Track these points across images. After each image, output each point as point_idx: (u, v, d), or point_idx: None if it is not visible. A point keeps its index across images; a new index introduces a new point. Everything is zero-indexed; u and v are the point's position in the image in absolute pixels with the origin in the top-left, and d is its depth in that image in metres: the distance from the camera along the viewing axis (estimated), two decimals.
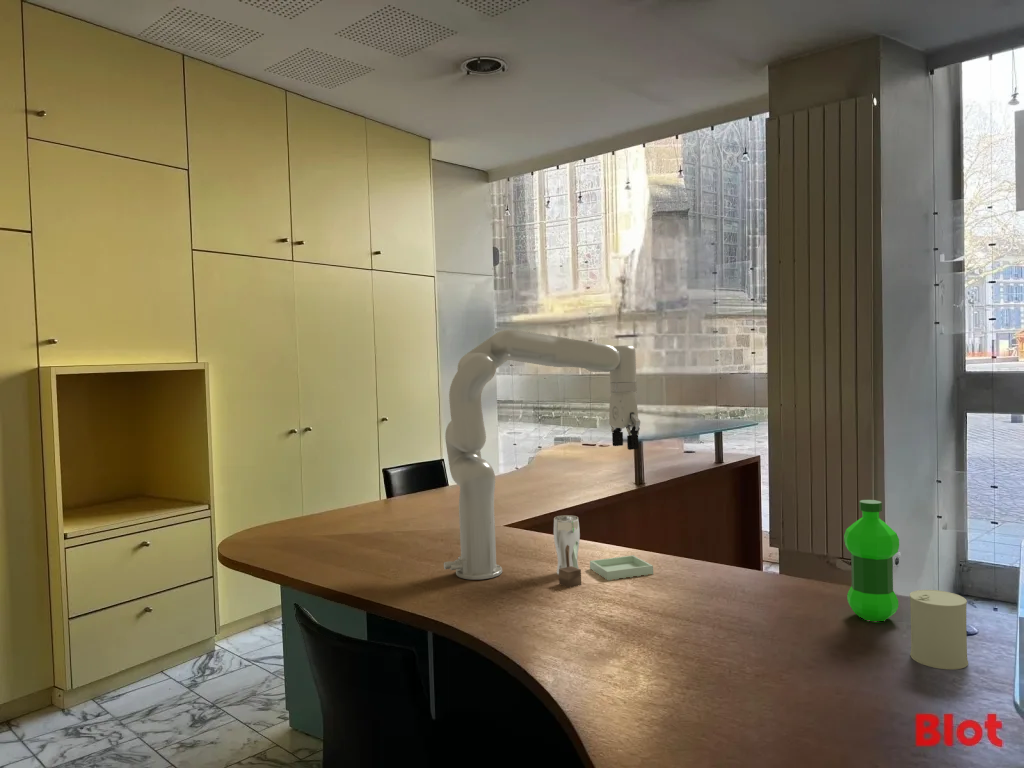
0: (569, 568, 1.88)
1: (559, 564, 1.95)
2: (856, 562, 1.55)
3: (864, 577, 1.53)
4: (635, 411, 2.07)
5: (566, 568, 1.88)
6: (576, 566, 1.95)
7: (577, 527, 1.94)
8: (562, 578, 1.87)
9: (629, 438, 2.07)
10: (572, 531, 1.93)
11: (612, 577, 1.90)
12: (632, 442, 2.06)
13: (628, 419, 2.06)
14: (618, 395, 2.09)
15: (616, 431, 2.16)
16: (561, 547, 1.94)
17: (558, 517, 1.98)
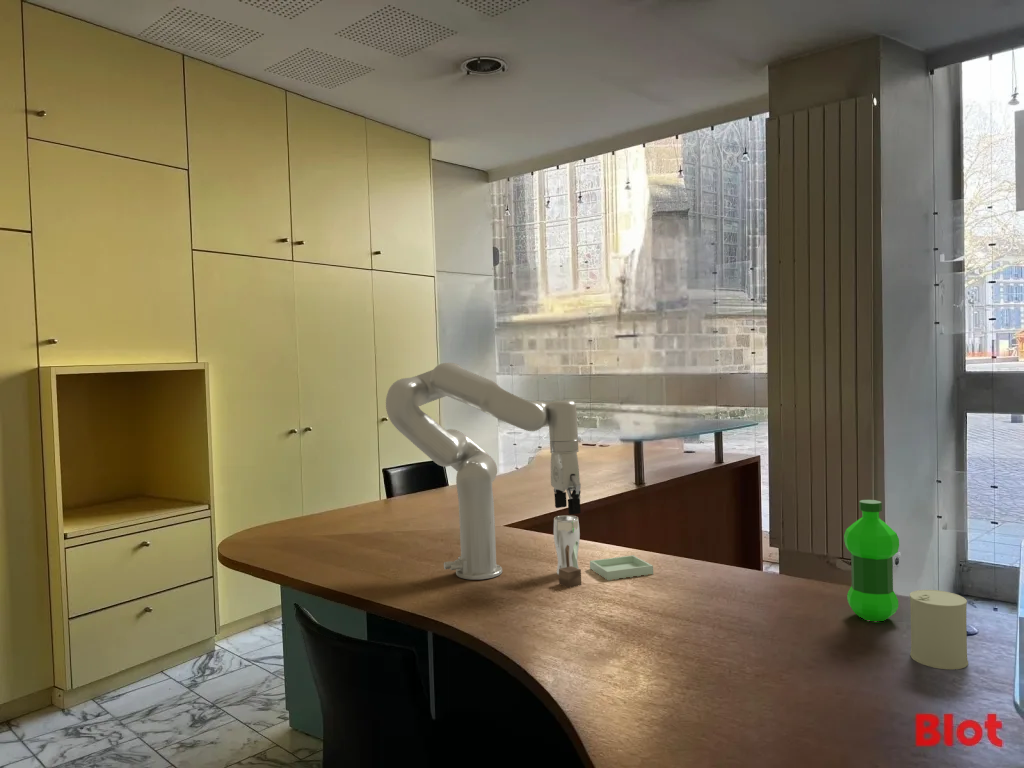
0: (569, 568, 1.88)
1: (559, 564, 1.95)
2: (856, 562, 1.55)
3: (864, 577, 1.53)
4: (576, 472, 1.91)
5: (566, 568, 1.88)
6: (576, 566, 1.95)
7: (577, 527, 1.94)
8: (562, 578, 1.87)
9: (570, 502, 1.91)
10: (572, 531, 1.93)
11: (612, 577, 1.90)
12: (573, 506, 1.90)
13: (568, 481, 1.91)
14: (558, 455, 1.93)
15: (559, 492, 2.00)
16: (561, 547, 1.94)
17: (558, 517, 1.98)
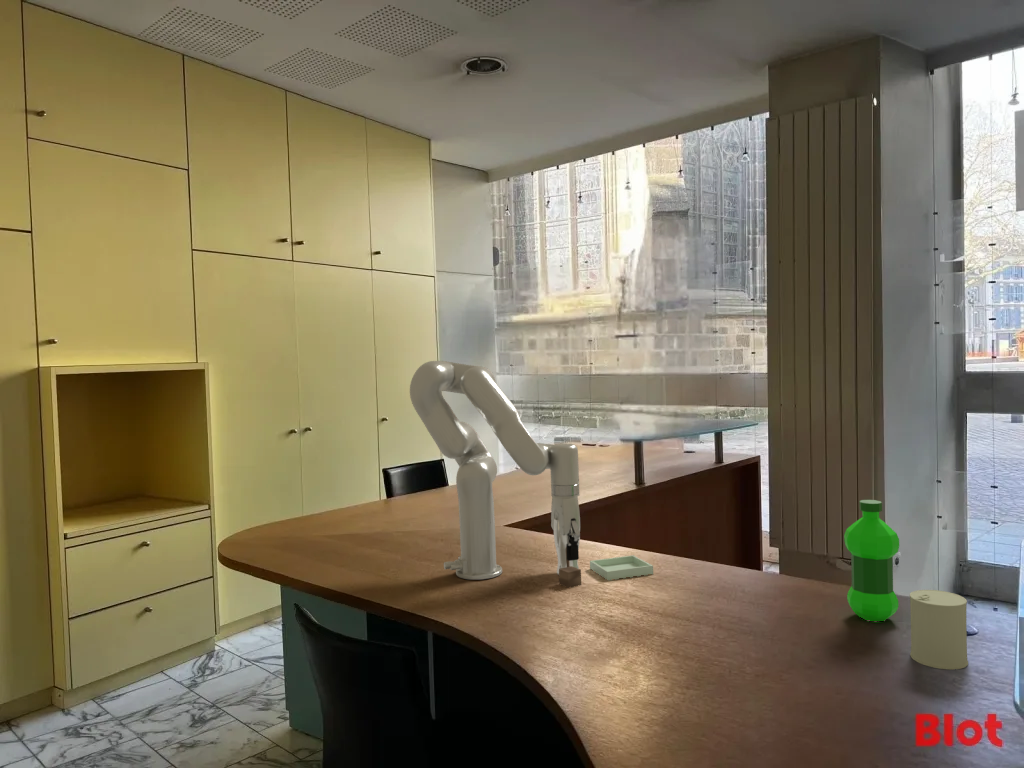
0: (569, 568, 1.88)
1: (559, 564, 1.95)
2: (856, 562, 1.55)
3: (864, 577, 1.53)
4: (577, 517, 1.92)
5: (566, 568, 1.88)
6: (576, 566, 1.95)
7: None
8: (562, 578, 1.87)
9: (568, 548, 1.92)
10: (572, 531, 1.93)
11: (612, 577, 1.90)
12: (571, 553, 1.92)
13: (569, 526, 1.91)
14: (559, 499, 1.93)
15: None
16: (561, 548, 1.94)
17: None
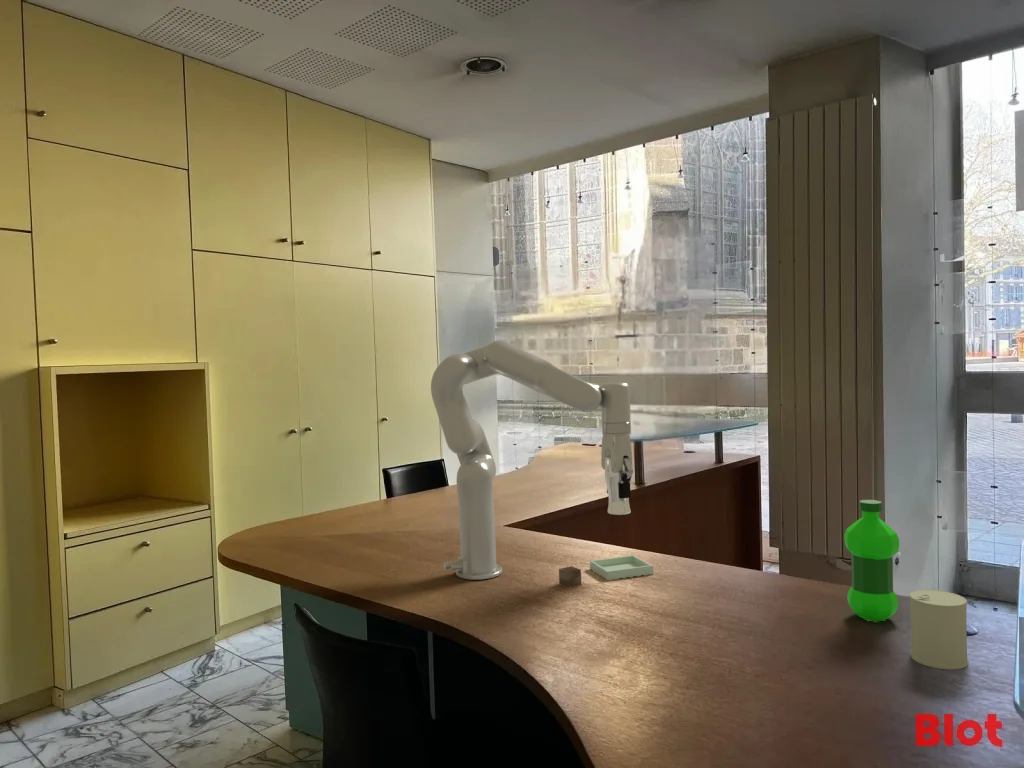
0: (569, 568, 1.88)
1: (610, 502, 1.95)
2: (856, 562, 1.55)
3: (864, 577, 1.53)
4: (629, 454, 1.91)
5: (566, 568, 1.88)
6: (628, 504, 1.94)
7: None
8: (562, 578, 1.87)
9: (620, 486, 1.92)
10: (624, 469, 1.92)
11: (612, 577, 1.90)
12: (624, 490, 1.91)
13: (621, 463, 1.90)
14: (611, 437, 1.93)
15: None
16: (613, 486, 1.93)
17: None
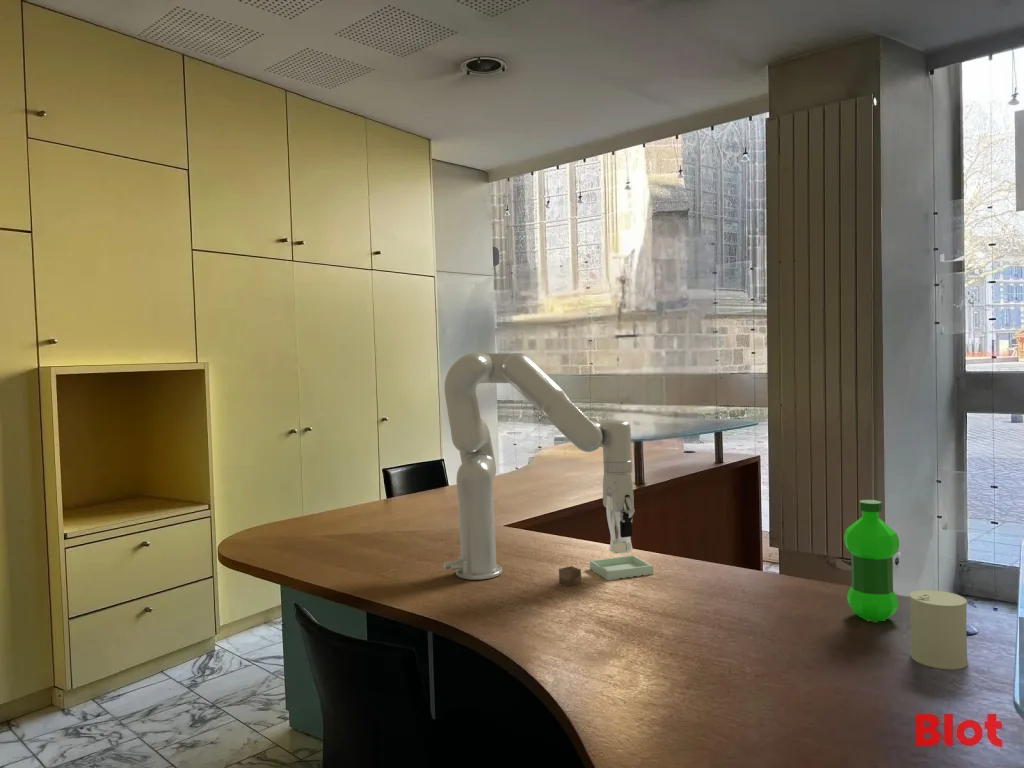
0: (569, 568, 1.88)
1: (612, 541, 1.95)
2: (856, 562, 1.55)
3: (864, 577, 1.53)
4: (631, 494, 1.91)
5: (566, 568, 1.88)
6: (629, 543, 1.95)
7: None
8: (562, 578, 1.87)
9: (622, 525, 1.92)
10: (626, 508, 1.93)
11: (612, 577, 1.90)
12: (625, 529, 1.92)
13: (623, 502, 1.91)
14: (612, 475, 1.93)
15: None
16: (614, 524, 1.93)
17: None
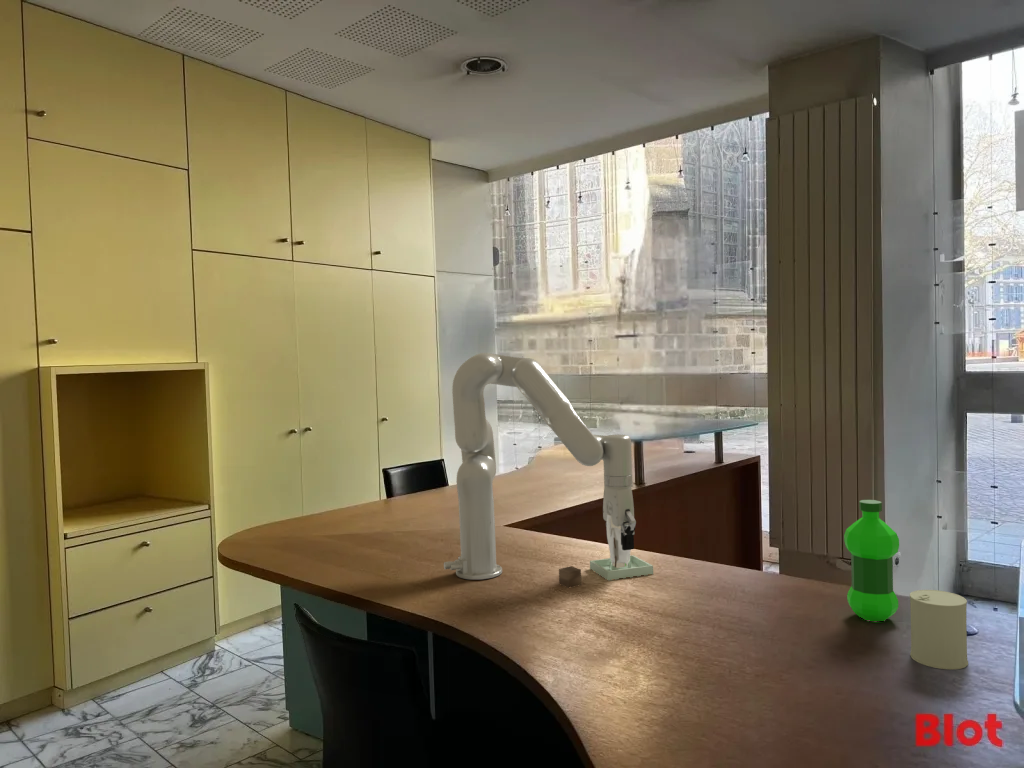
0: (569, 568, 1.88)
1: (612, 560, 1.95)
2: (856, 562, 1.55)
3: (864, 577, 1.53)
4: (631, 508, 1.92)
5: (566, 568, 1.88)
6: (629, 562, 1.95)
7: None
8: (562, 578, 1.87)
9: (624, 538, 1.91)
10: (626, 527, 1.93)
11: (612, 577, 1.90)
12: (627, 542, 1.91)
13: (623, 517, 1.91)
14: (612, 490, 1.93)
15: None
16: (614, 543, 1.94)
17: None
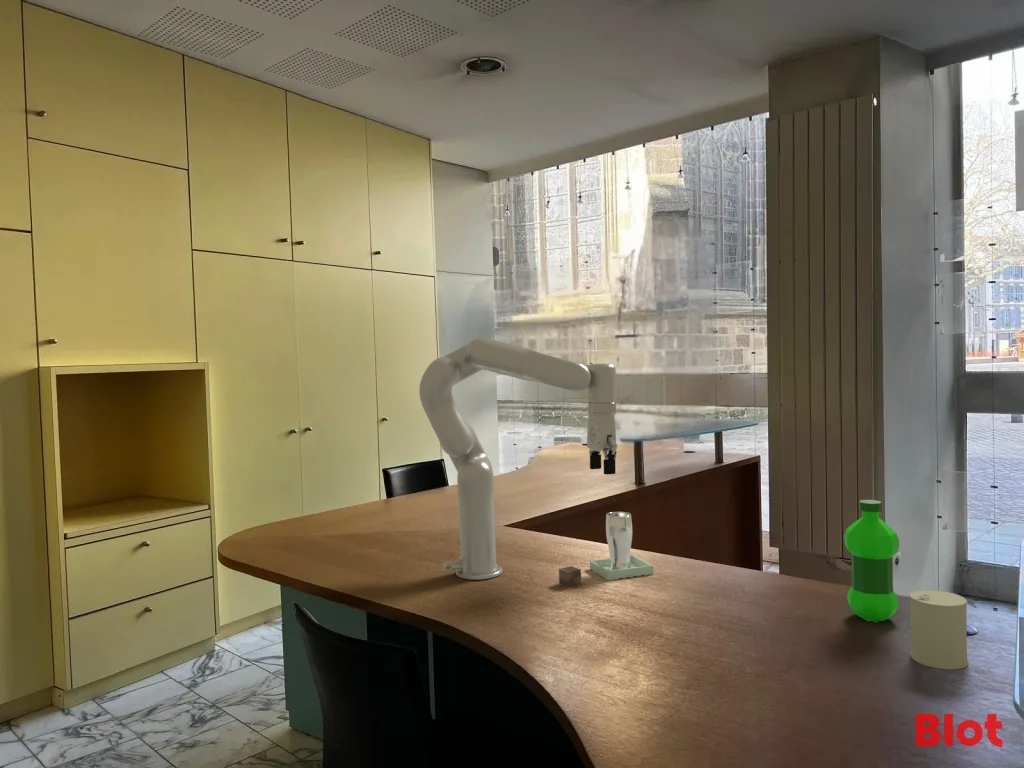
0: (569, 568, 1.88)
1: (612, 560, 1.95)
2: (856, 562, 1.55)
3: (864, 577, 1.53)
4: (613, 434, 1.95)
5: (566, 568, 1.88)
6: (629, 562, 1.95)
7: (630, 523, 1.94)
8: (562, 578, 1.87)
9: (605, 462, 1.95)
10: (625, 527, 1.93)
11: (612, 577, 1.90)
12: (608, 467, 1.94)
13: (605, 442, 1.95)
14: (596, 416, 1.97)
15: (594, 453, 2.04)
16: (614, 544, 1.94)
17: (610, 513, 1.98)
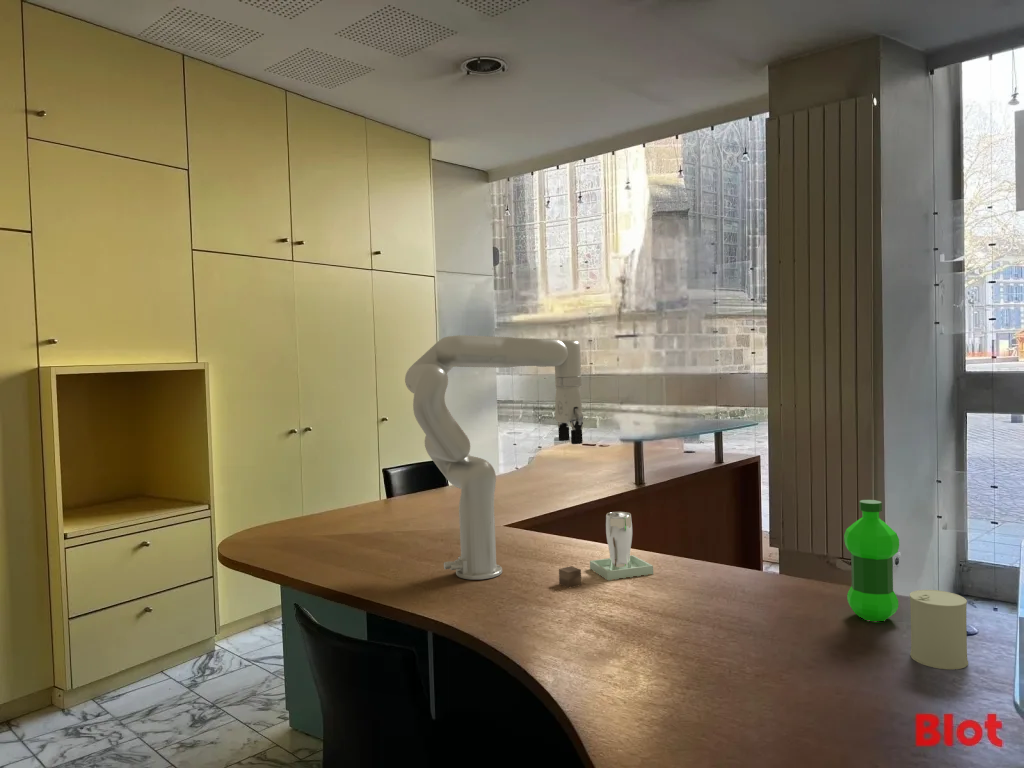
0: (569, 568, 1.88)
1: (612, 560, 1.95)
2: (856, 562, 1.55)
3: (864, 577, 1.53)
4: (579, 406, 2.08)
5: (566, 568, 1.88)
6: (629, 562, 1.95)
7: (630, 523, 1.94)
8: (562, 578, 1.87)
9: (573, 433, 2.07)
10: (625, 527, 1.93)
11: (612, 577, 1.90)
12: (576, 437, 2.06)
13: (572, 414, 2.07)
14: (562, 390, 2.09)
15: (562, 426, 2.16)
16: (614, 544, 1.94)
17: (610, 513, 1.98)
